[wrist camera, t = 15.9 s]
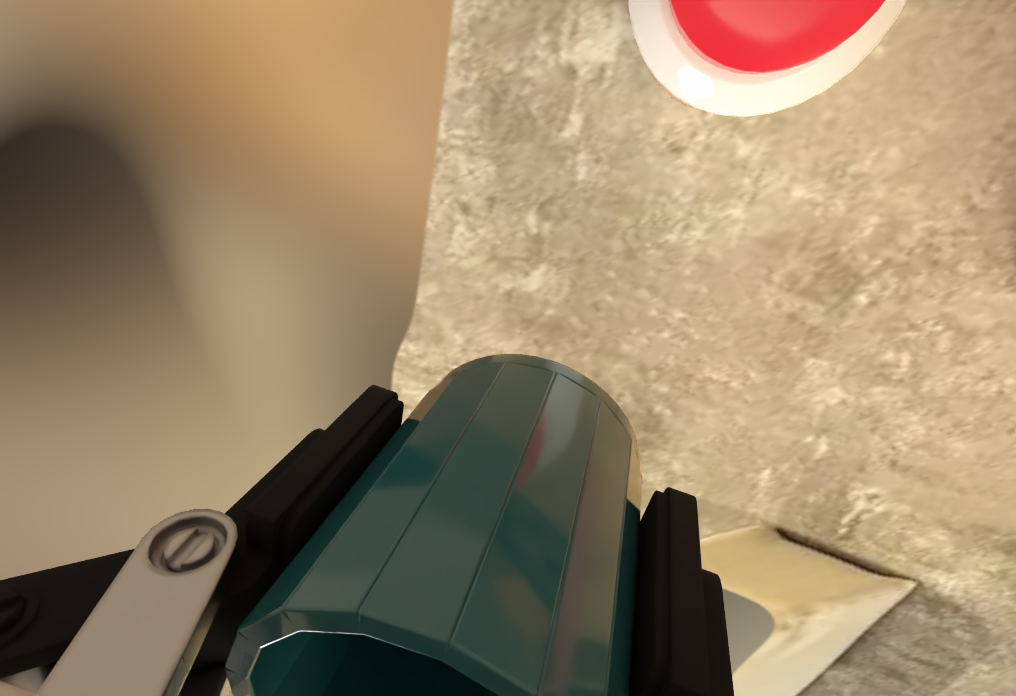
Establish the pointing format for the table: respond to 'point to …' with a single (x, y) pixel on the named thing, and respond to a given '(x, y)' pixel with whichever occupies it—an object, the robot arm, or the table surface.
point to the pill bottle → (755, 48)
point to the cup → (468, 553)
